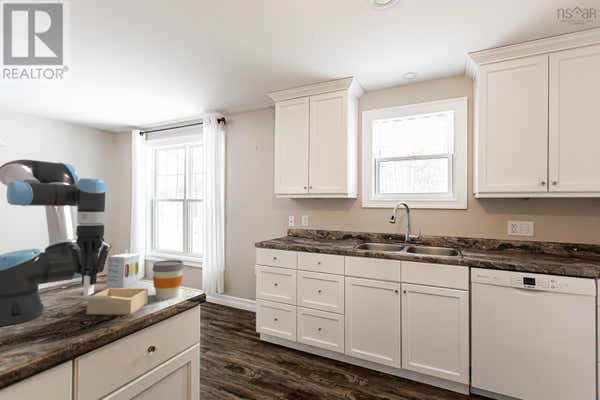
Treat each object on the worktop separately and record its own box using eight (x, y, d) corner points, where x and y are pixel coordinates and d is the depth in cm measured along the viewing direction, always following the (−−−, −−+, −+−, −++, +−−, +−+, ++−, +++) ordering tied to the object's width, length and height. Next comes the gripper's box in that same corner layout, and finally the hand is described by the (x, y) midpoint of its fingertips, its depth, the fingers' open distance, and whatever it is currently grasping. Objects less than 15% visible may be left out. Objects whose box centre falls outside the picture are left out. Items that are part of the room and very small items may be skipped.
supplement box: (122, 294, 123) (123, 257, 124) (105, 293, 125) (106, 256, 126) (139, 288, 133) (140, 253, 133) (122, 287, 134) (124, 252, 135)
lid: (85, 297, 101) (85, 299, 100) (60, 295, 89) (59, 297, 89) (130, 298, 101) (130, 300, 101) (111, 295, 90) (110, 297, 90)
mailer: (86, 314, 101) (87, 297, 101) (108, 302, 113) (109, 288, 113) (130, 314, 101) (131, 298, 102) (147, 303, 113) (148, 288, 114)
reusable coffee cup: (162, 291, 129) (163, 259, 130) (187, 292, 128) (188, 260, 128) (145, 300, 117) (146, 265, 117) (172, 301, 116) (174, 266, 116)
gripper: (61, 224, 89) (59, 297, 88) (102, 225, 89) (100, 298, 89) (79, 223, 96) (77, 290, 96) (117, 223, 97) (115, 290, 96)
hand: (88, 294), depth 92 cm, fingers closed
